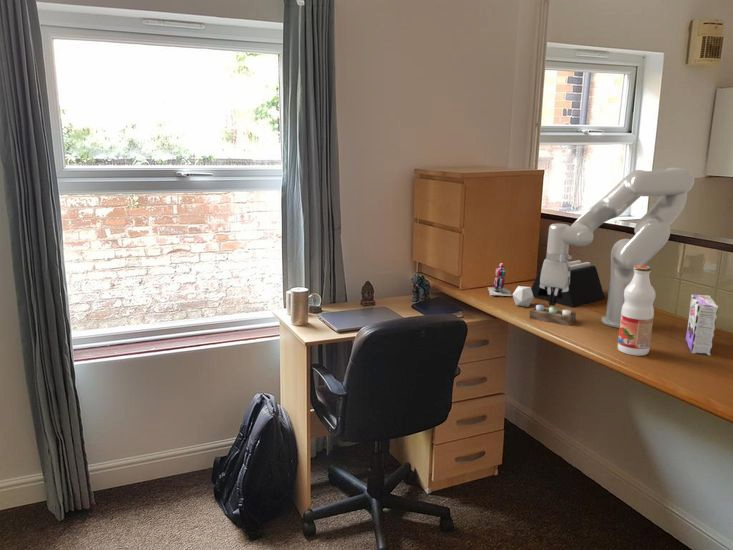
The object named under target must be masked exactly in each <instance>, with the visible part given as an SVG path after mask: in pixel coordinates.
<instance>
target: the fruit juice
mask: <svg viewBox="0 0 733 550" xmlns="http://www.w3.org/2000/svg"><path fill="white" fill-rule="evenodd" d="M651 272H652V267H651V266H649V265H646V264H645V265H635V266H634V276H633V279H632V281H631V282H630V284H629V285H628V286H627V287H626V288H625V290H624V300H625V301H624V304H623V305H622V310H621V319H620V328H618V339H617V350H618V351H620V353H623V354H626V355H630V356H635V357H636V356H639V357H641V356H646V355H648V354H649V352H650V348H651V347H650V346H651V342H652V341H651V340H652V331H653V325H654V324H653V321H654V317H655V308H654V305H653V304H654V302H655V300H656V290H655V288H654V287H653V286H652V284H651V280H650V273H651Z"/></svg>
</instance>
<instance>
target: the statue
mask: <svg viewBox="0 0 733 550" xmlns="http://www.w3.org/2000/svg"><path fill="white" fill-rule="evenodd" d="M495 276H496V277H495V278H494V283H493V284H494V287H493V286H492V287H490V286H487V291H488V293H489V297H493V298H494V297H495V296H496V297H501V298H504V297H505V296H506V297H510V298H513V295H512V294H513V293H512V292H511V290H510V289H509V287H508V288H505V283H506V279H505V277H506V269H504V263H502V262H501V263H499V268H498V267H496V268H495Z"/></svg>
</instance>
